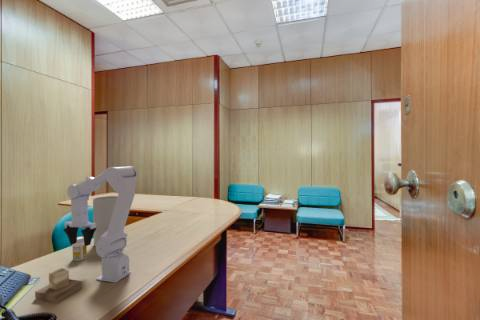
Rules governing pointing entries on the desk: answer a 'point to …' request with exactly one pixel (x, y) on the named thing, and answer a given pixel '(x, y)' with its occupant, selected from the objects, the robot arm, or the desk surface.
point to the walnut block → (57, 292)
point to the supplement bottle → (79, 249)
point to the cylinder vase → (102, 214)
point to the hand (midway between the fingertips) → (80, 244)
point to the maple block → (58, 279)
